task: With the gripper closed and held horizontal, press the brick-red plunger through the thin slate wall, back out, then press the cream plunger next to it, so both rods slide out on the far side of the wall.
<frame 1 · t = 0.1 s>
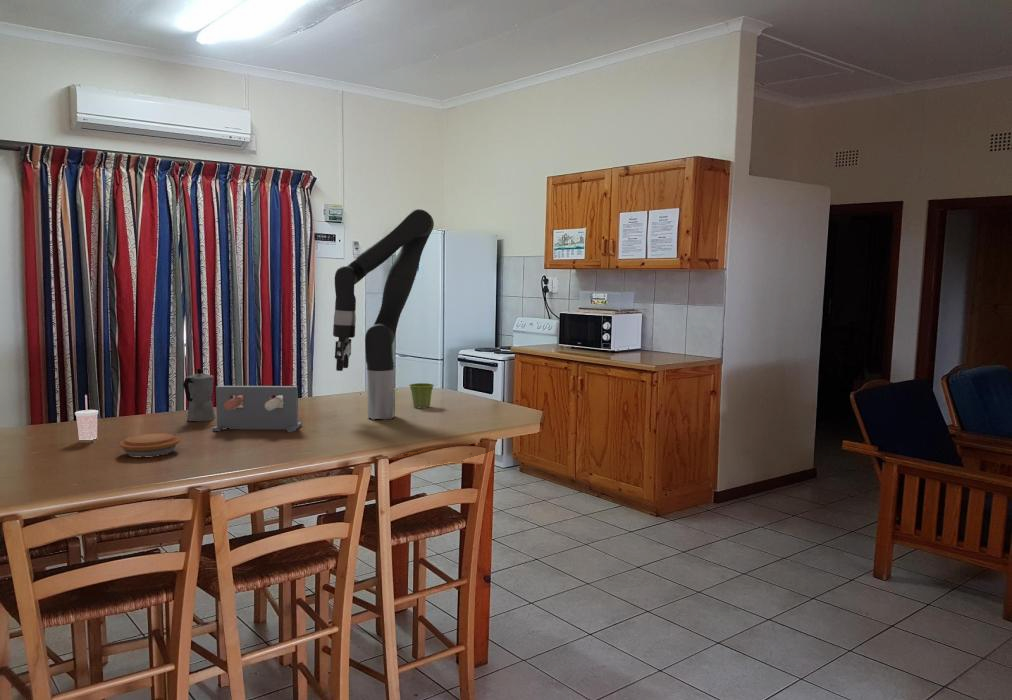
hand: (342, 369, 260), 17 cm above the table, tool pointing down, fingers open, 8 cm apart
coffeepot: (199, 420, 256), on the table
beverage cup: (88, 441, 223), on the table
pie: (150, 454, 209), on the table
cream button: (276, 401, 241), point 9 cm above the table, slide at 0.0 cm
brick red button: (236, 401, 241), point 9 cm above the table, slide at 0.0 cm
panel: (258, 428, 242), on the table
plant pot: (421, 407, 284), on the table
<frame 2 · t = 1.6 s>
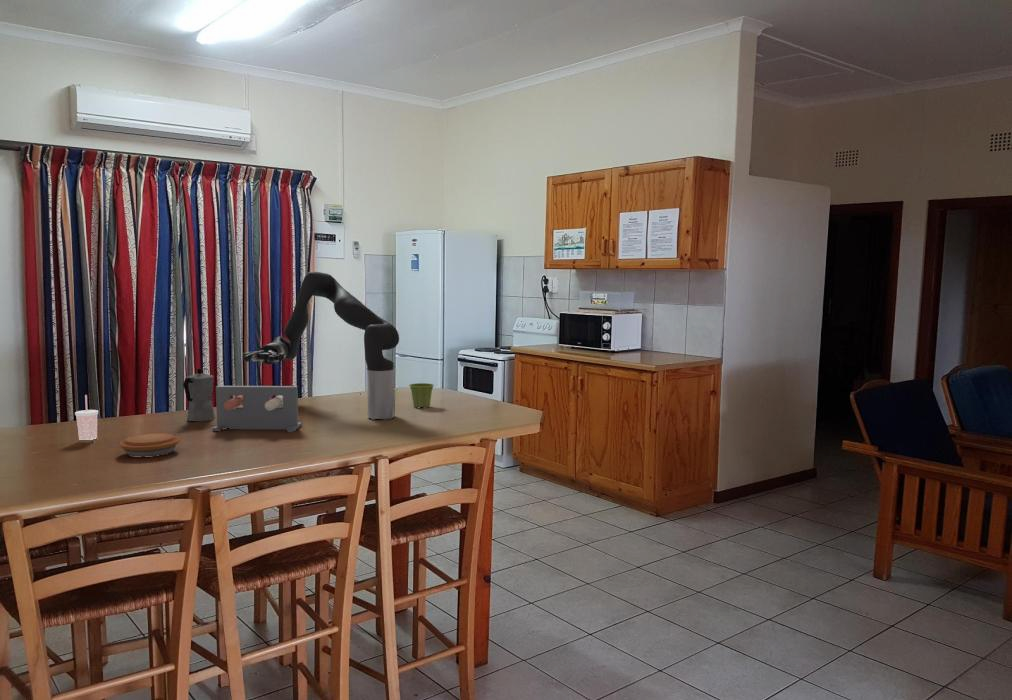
hand: (258, 358, 262), 21 cm above the table, tool horizontal, fingers open, 8 cm apart
nothing on the table moved.
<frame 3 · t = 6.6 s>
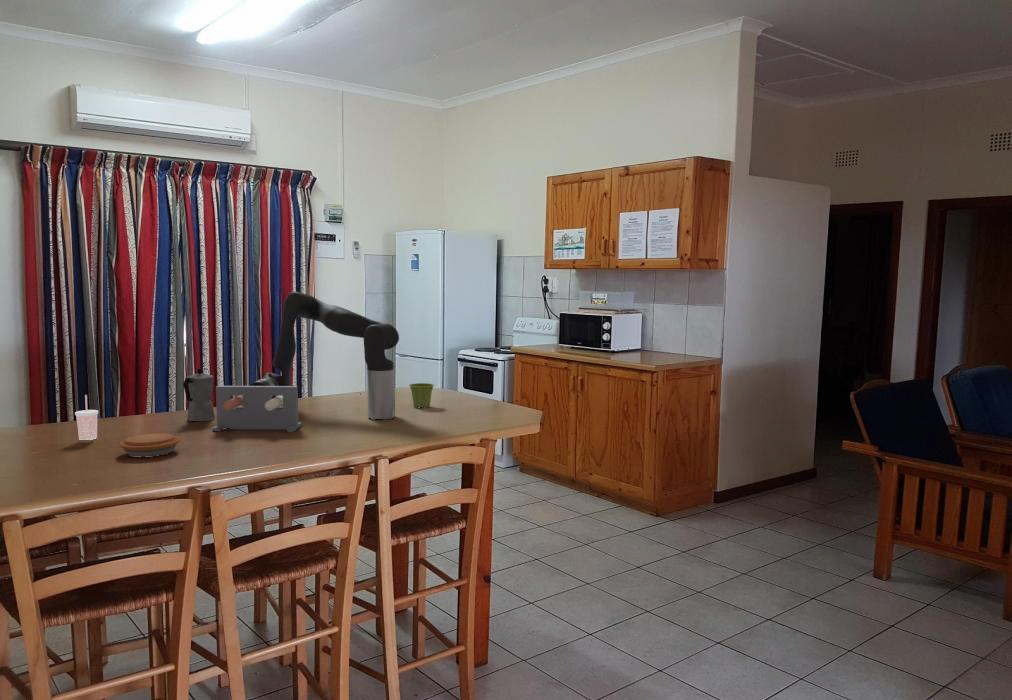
hand: (244, 398, 248), 9 cm above the table, tool horizontal, fingers closed
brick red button: (236, 401, 241), point 9 cm above the table, slide at 0.5 cm, touching gripper
everything else where it was.
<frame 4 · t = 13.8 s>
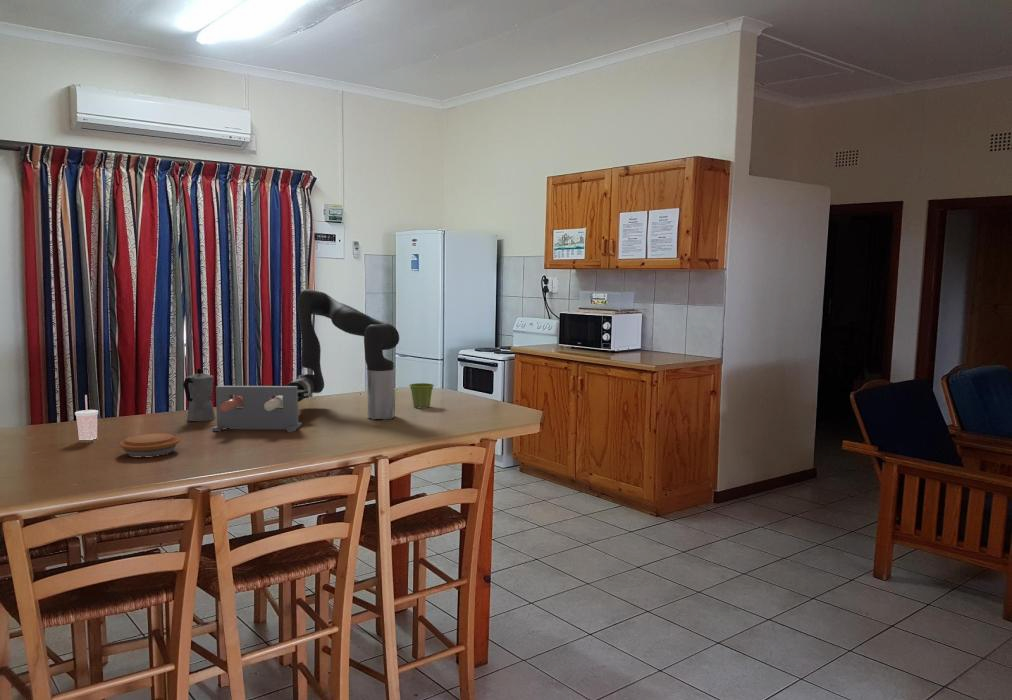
hand: (283, 398, 248), 9 cm above the table, tool horizontal, fingers closed
cream button: (276, 402, 241), point 9 cm above the table, slide at 0.6 cm, touching gripper
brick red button: (233, 403, 238), point 9 cm above the table, slide at 3.1 cm
everything else where it was.
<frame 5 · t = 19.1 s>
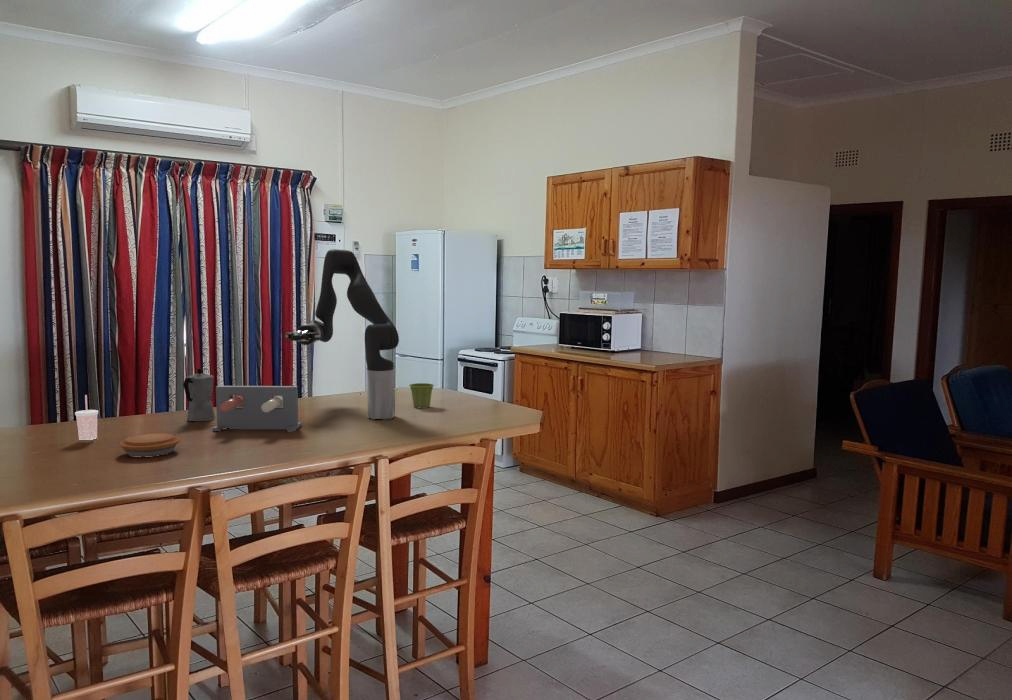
hand: (295, 337, 262), 28 cm above the table, tool horizontal, fingers closed
cream button: (273, 403, 238), point 9 cm above the table, slide at 3.2 cm
everything else where it was.
at the end: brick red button slide at 3.1 cm; cream button slide at 3.2 cm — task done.
